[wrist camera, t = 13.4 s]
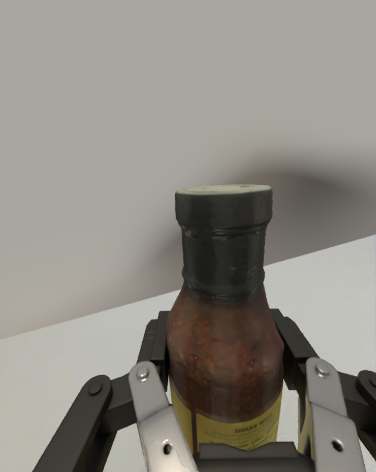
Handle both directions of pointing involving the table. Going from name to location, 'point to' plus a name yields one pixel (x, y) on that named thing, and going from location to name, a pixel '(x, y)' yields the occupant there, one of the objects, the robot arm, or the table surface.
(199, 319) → the sauce bottle
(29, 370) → the table surface
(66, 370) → the table surface
